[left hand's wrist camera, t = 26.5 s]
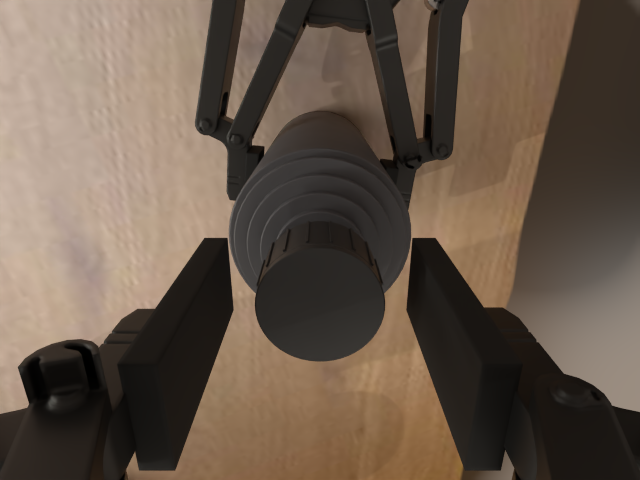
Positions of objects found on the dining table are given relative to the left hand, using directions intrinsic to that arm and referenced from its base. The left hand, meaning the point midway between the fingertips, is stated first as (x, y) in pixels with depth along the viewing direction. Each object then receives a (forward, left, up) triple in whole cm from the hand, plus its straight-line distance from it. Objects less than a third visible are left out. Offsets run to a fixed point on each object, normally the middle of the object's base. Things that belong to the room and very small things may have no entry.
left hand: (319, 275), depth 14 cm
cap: (0, 0, +2) cm, 2 cm away
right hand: (-5, -1, -13) cm, 14 cm away
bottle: (0, 0, -20) cm, 20 cm away
